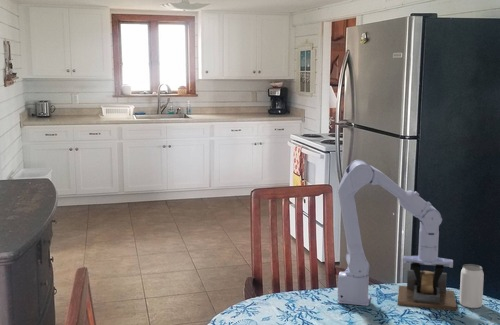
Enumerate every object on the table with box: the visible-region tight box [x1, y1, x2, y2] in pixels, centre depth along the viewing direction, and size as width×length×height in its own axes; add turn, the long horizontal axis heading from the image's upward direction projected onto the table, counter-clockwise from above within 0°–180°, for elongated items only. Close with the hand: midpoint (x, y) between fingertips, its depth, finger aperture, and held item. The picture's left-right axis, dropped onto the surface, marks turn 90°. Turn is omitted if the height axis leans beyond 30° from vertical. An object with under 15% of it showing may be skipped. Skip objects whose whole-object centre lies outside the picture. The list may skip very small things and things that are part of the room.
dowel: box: [420, 270, 434, 294], centre depth 172 cm, size 4×4×7 cm
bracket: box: [397, 269, 457, 311], centre depth 174 cm, size 17×13×7 cm
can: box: [459, 263, 485, 309], centre depth 169 cm, size 6×6×12 cm
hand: (426, 287), depth 172 cm, fingers closed on dowel, 4 cm apart
